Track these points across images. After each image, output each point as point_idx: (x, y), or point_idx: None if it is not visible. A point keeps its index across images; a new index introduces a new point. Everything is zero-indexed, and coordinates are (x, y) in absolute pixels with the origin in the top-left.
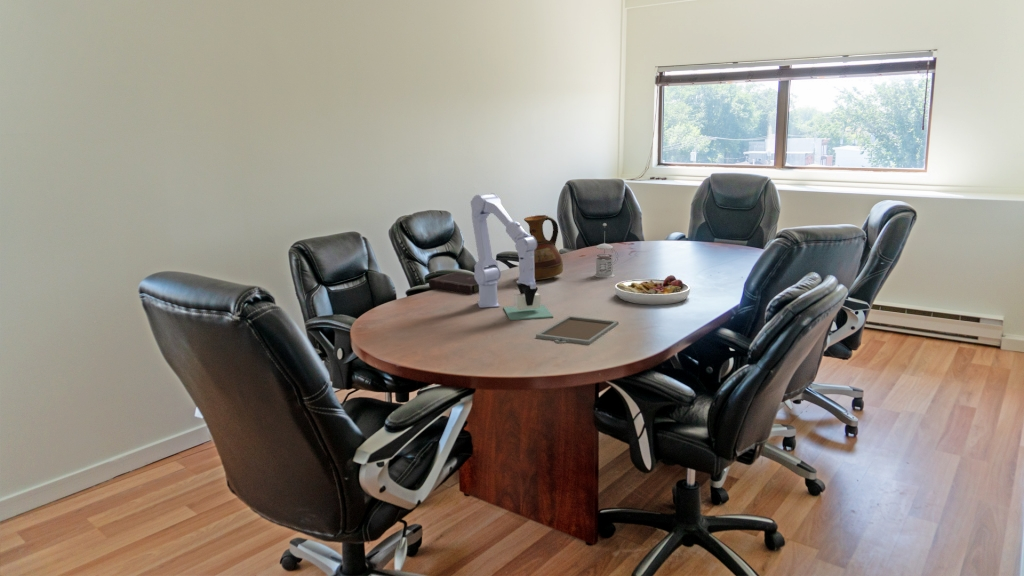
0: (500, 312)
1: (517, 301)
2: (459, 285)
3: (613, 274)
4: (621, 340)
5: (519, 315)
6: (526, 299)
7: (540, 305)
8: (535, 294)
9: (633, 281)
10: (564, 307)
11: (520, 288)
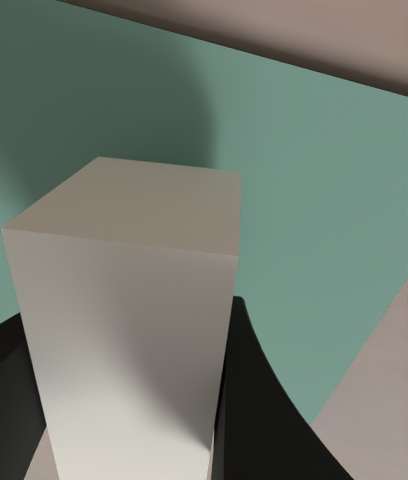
0: (358, 6)
1: (55, 196)
2: None
3: None
4: None
5: (55, 135)
6: (15, 315)
7: (305, 407)
8: (102, 464)
9: None
10: (209, 470)
11: (219, 463)
